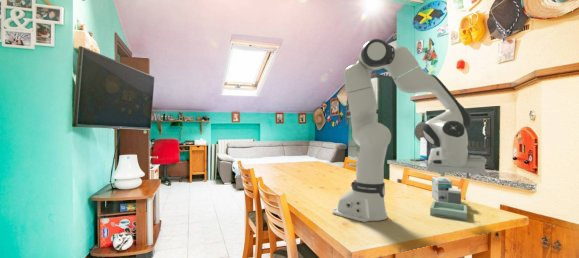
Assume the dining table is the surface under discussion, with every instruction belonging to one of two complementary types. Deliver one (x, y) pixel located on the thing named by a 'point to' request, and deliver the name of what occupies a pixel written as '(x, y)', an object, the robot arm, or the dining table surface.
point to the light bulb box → (440, 188)
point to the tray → (449, 210)
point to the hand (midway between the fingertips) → (455, 176)
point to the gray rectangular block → (454, 196)
